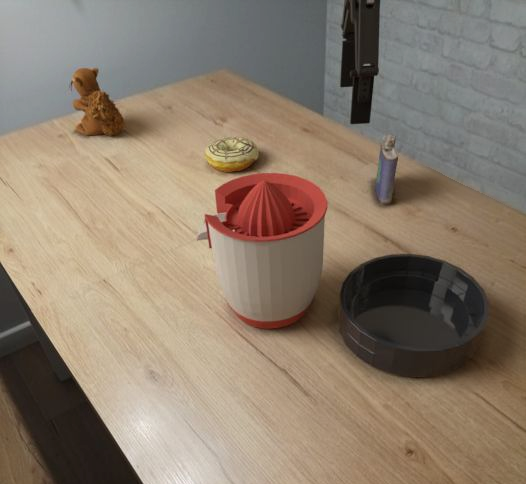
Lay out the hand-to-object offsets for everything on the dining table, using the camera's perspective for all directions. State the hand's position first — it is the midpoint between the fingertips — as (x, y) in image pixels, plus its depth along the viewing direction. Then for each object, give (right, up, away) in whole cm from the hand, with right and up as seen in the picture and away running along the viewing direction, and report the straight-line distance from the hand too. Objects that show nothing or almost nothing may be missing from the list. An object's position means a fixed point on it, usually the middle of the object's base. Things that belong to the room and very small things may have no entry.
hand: (353, 103), depth 78 cm
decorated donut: (-20, +2, +29) cm, 36 cm away
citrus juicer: (-14, -31, -1) cm, 33 cm away
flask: (+9, -8, +19) cm, 22 cm away
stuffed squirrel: (-51, +14, +43) cm, 68 cm away
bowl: (+6, -34, -6) cm, 35 cm away
